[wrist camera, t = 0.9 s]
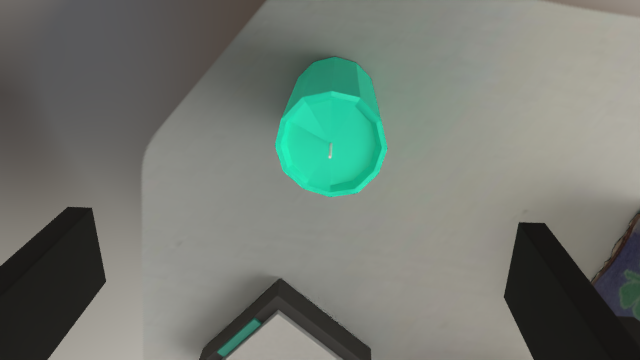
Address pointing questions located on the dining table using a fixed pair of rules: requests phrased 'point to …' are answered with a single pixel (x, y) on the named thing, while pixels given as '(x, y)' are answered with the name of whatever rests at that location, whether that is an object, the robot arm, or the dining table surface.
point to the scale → (284, 332)
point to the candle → (332, 129)
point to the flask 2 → (622, 274)
